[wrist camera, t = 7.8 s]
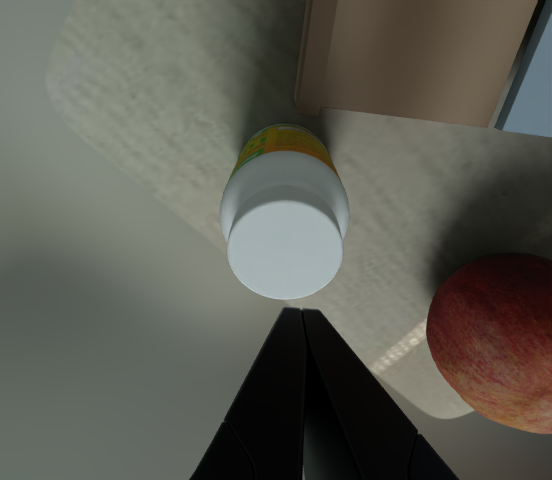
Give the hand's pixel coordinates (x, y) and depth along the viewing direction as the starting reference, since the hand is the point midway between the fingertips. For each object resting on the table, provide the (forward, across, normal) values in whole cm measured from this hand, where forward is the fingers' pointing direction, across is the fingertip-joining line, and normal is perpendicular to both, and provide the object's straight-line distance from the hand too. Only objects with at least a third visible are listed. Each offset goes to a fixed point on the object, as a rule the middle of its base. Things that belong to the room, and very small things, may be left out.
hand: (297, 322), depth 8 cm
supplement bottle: (+14, 0, 0) cm, 14 cm away
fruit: (+13, -15, +8) cm, 21 cm away
